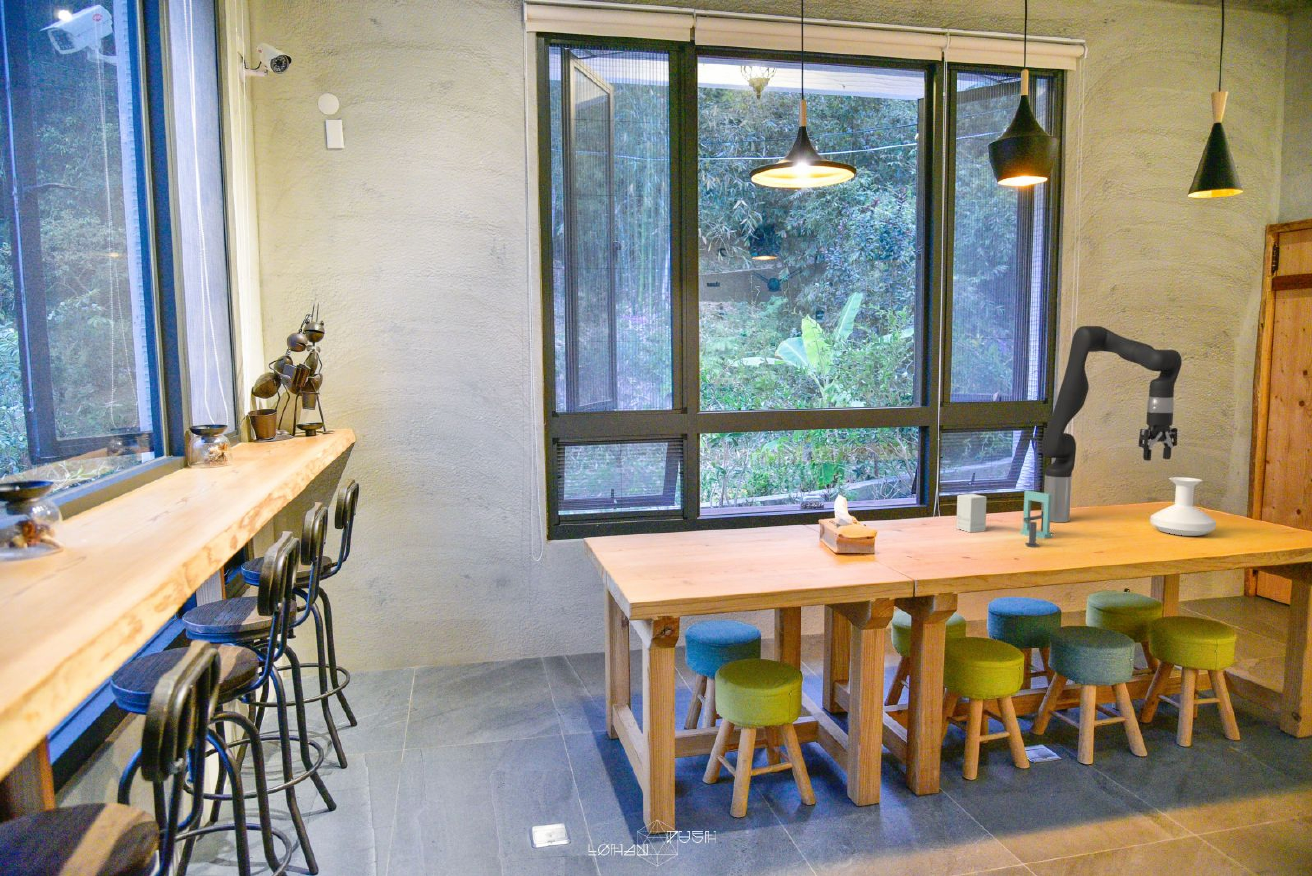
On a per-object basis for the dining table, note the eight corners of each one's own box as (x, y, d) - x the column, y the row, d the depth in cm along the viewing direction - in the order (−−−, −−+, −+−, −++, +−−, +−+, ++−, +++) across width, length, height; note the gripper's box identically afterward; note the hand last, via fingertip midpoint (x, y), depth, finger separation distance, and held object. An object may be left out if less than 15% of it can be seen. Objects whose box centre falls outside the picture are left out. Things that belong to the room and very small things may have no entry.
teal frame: (1027, 532, 313) (1029, 490, 312) (1051, 537, 306) (1053, 493, 304) (1020, 534, 311) (1022, 491, 309) (1044, 539, 303) (1046, 495, 302)
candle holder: (1136, 528, 320) (1139, 476, 318) (1181, 525, 325) (1184, 474, 323) (1182, 540, 301) (1186, 485, 299) (1229, 537, 306) (1232, 482, 304)
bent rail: (1014, 545, 294) (1015, 521, 293) (1030, 531, 316) (1031, 509, 315) (1038, 548, 290) (1039, 524, 289) (1053, 533, 312) (1054, 511, 311)
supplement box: (986, 531, 316) (987, 496, 314) (969, 533, 313) (971, 498, 312) (971, 527, 323) (973, 493, 321) (955, 529, 320) (956, 494, 319)
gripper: (1166, 409, 294) (1162, 457, 296) (1134, 410, 290) (1130, 459, 292) (1186, 411, 287) (1182, 460, 289) (1153, 412, 283) (1150, 462, 285)
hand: (1156, 459), depth 290 cm, fingers open, 8 cm apart
